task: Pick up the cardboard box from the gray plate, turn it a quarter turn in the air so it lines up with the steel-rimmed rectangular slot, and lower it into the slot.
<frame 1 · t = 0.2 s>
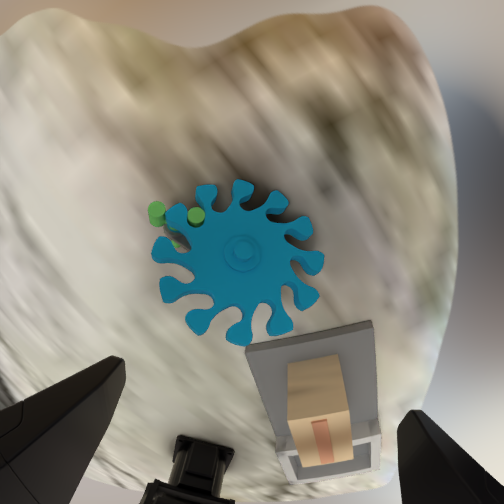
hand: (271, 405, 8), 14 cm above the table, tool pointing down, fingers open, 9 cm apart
gray plate: (324, 414, 27), on the table
gear: (240, 232, 22), on the table
cardboard box: (318, 387, 25), point 1 cm above the table, touching gray plate
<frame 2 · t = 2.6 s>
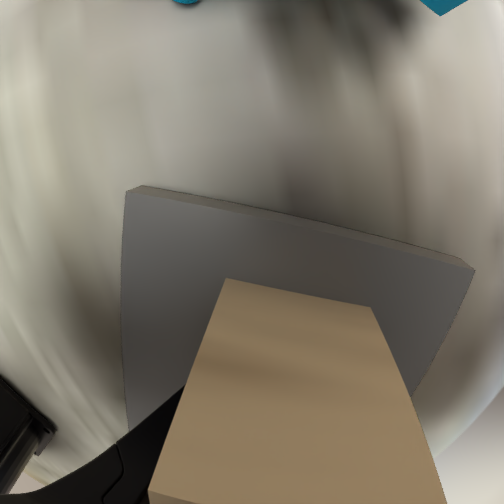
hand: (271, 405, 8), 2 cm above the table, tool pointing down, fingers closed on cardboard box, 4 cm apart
gray plate: (246, 443, 12), on the table
cardboard box: (272, 382, 9), point 1 cm above the table, touching gripper, gray plate
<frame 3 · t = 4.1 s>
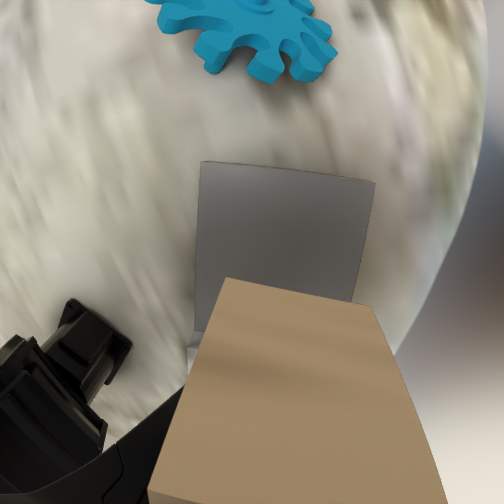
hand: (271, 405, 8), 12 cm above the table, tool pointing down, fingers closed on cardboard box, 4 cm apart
gray plate: (269, 317, 22), on the table
gear: (248, 27, 16), on the table
cardboard box: (273, 382, 9), point 11 cm above the table, touching gripper
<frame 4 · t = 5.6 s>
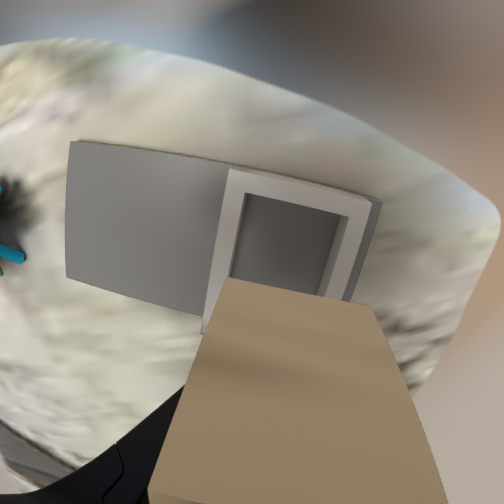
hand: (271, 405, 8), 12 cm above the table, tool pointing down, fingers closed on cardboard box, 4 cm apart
gray plate: (202, 238, 20), on the table
gear: (4, 229, 22), on the table
cardboard box: (273, 381, 9), point 11 cm above the table, touching gripper
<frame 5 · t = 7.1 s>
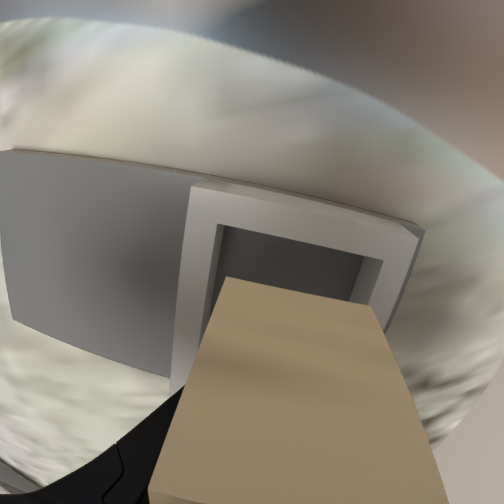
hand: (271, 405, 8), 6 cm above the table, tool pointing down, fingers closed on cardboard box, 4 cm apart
gray plate: (167, 280, 14), on the table
cardboard box: (273, 381, 9), point 5 cm above the table, touching gripper
when the fingers open (3 cm above the table, at t = 8.5 s): cardboard box drops 1 cm, resting on gray plate.
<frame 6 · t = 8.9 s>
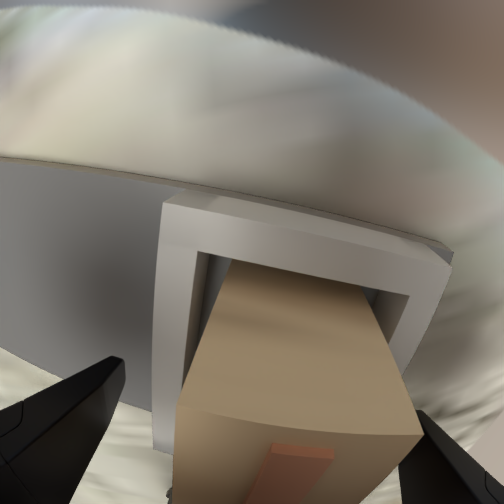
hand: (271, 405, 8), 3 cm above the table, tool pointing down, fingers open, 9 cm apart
gray plate: (147, 307, 12), on the table
cardboard box: (273, 353, 11), point 1 cm above the table, touching gray plate
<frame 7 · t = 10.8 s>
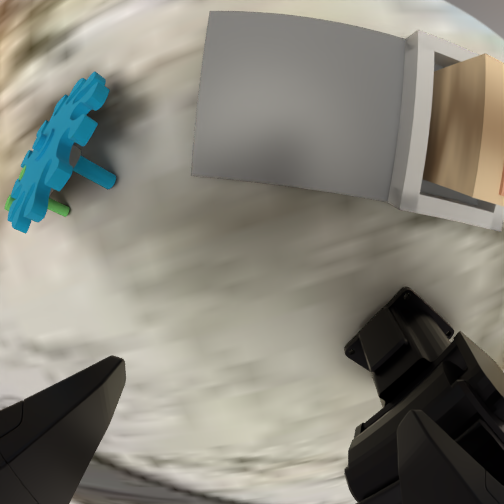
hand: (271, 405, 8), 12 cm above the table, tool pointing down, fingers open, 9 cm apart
gray plate: (374, 113, 16), on the table
gear: (82, 149, 19), on the table
cardboard box: (453, 133, 15), point 1 cm above the table, touching gray plate
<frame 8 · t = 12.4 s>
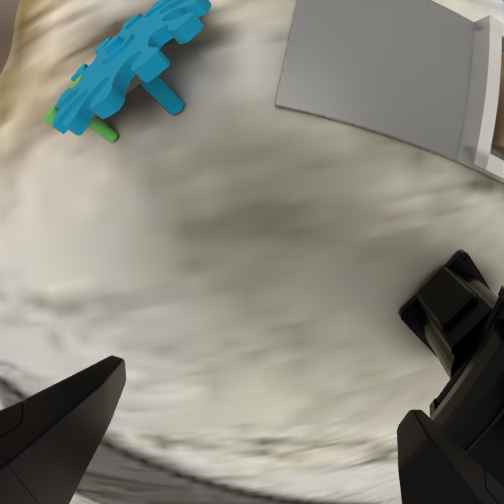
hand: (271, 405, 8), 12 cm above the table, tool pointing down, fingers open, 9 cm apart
gray plate: (446, 80, 15), on the table
gear: (145, 73, 17), on the table
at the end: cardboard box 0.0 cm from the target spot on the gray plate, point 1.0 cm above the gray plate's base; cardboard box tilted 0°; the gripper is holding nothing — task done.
